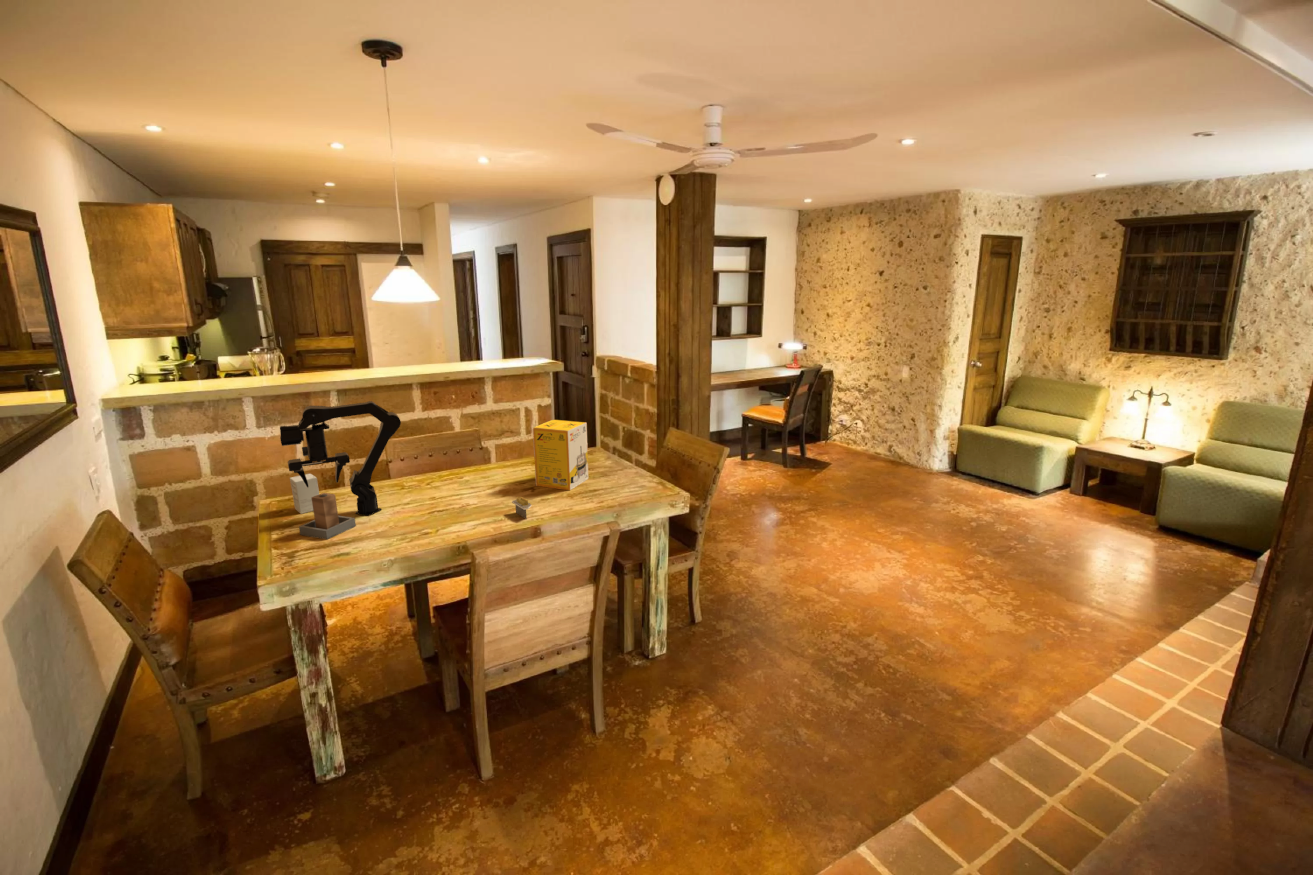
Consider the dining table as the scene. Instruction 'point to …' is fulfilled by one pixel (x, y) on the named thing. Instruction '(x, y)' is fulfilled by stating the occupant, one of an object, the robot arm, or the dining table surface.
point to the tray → (312, 531)
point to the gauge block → (325, 510)
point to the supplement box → (304, 492)
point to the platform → (521, 506)
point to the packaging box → (560, 454)
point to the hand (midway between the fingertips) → (322, 484)
